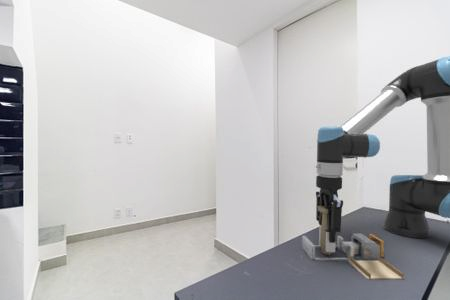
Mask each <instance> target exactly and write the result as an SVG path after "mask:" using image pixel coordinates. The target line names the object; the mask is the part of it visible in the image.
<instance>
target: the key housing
mask: <svg viewBox="0 0 450 300" xmlns="http://www.w3.org/2000/svg"><path fill="white" fill-rule="evenodd" d="M350 242H361V243H363V244H362V245H361V254H360V257H361V258H362V259H364V260H365V259H366V260H367V259H368V260H371V259H373V260H374V259H375V260H378V257H380V245H378V244H376V243H375V242H374V241H372V240H371V239H369V238H368V236H365V234H363V233H352V236H350Z"/></svg>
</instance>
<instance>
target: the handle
mask: <svg viewBox="0 0 450 300" xmlns="http://www.w3.org/2000/svg"><path fill="white" fill-rule="evenodd" d="M330 210H331V209H330ZM318 211H319V212H321V213H322V225H321V237H320V240H321V247H322V248H321V249H320V251H321V253H322V254H324V255H326V256H331V255H332V253H333V252H326V251H325V248H326V231H325V230H328V226H327V214H328V209H326V208H325V206H321V205H320V206H318Z"/></svg>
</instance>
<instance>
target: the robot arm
mask: <svg viewBox="0 0 450 300" xmlns="http://www.w3.org/2000/svg"><path fill="white" fill-rule="evenodd" d="M419 98H420V102H421V103H422V104H424V105H425V106H426V149H427V150H426V151H427V152H426V155H427V156H426V158H427V159H426V162H427V172H426V173H425V174H423V175H422V174H421V175H420V174H415V175H414V174H395V175H394V174H393V175H392V176H391V177H390V180H389V181H390V182H389V198H388V199H389V202H388V203H389V204H388V210H387V213H386V215H385V218H384V220H383V229H384V230H386V231H388V232H390V233H392V234H395V235H399V236H402V237H407V238H414V239H426V238H430V236H431V229H430V227H429V223H428V221H427V218H426V217H427V216H426V213H430V214H433V215H436V216H440V217H442V218H445V219H450V55H449V56H444V57H443V56H442V57H441V58H439V59H436V60H432V61H429V62H427V63H424V64H421V65H417V66H414V67H411V68H409V69H407V70H406V71H404V72H402V73H401V74H399V75H398V76H396V77H395V78H394V79H393V80H391V81H390V82H389V83H388V84H386V85H385V86H384V87H383V88H382V89H381V90H380V94H378V95H377V96H376V97H375V98H374V99H372V100H371V101H369V103H367V104H366V105H365V106H364V107H362V109H360V110H359V111H357V112H356V113H355V114H354V115H353V116H351V117H350V118H349V119H347V120H346V121H345V122H344V123H343V124H341V126H322V127H319V129H318V130H317V131H318V132H317V139H316V143H317V146H316V148H317V149H316V151H317V152H316V165H315V169H316V174H317V176H316V177H315V180H316V181H315V187H317V188H318V189H319V191H315V197H316V198H315V199H316V201H315V202H316V206H315V207H316V212H315V213H316V215H315V219H316V221H317V222H318V225H319V229H318V230H319V231H318V232H319V236H318V245H320V246H321V240H320V237H321V225H322V213H321V212H319V211H318V206H320V205H321V206H325V208H326V209H328V214H327V226H328V230H325V231H326V248H325V251H326V252H332V253H335V252H336V248H335V245H336V241H337V237H336V236H337V233H341V231H342V228H341V227H342V213H343V211H342V210H343V205H344V201H343V199H342V200H340V199H339V195H338V191H339V190H342V187H343V178H342V176H343V170H344V169H343V166H344V164H343V163H344V158H365V159H367V158H373V157H375V156H376V155H378V153H379V152H380V148H381V142H380V139H379V137H377V136H376V135H374V134H369V133H366V132H367V131H369V130H370V129H371V128H372V127H373V126H375V125H376V124H377V123H378V122H380V121H381V120H382V119H383V118H384V117H386V116H387V115H388V114H389V113H390V112H392V111H393V110H394V109H395V108H399V107H402V106H403V105H405V104H406V103H407V102H410V101H413V100H416V99H419ZM330 209H331V210H330Z"/></svg>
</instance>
